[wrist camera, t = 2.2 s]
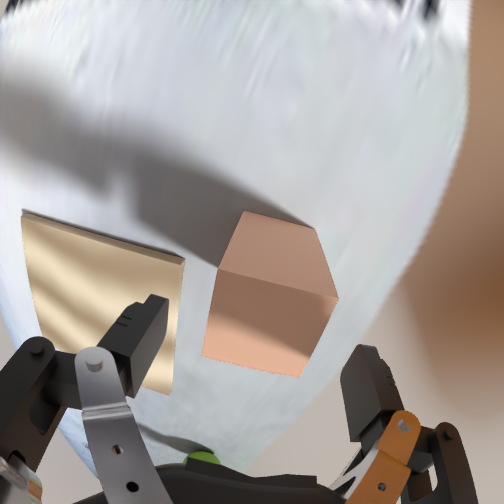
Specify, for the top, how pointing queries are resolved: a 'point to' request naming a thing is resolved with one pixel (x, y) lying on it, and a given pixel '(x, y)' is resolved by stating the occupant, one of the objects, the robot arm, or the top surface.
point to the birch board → (97, 288)
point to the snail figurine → (203, 457)
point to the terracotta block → (270, 297)
